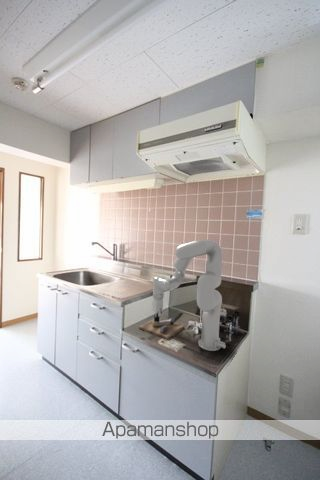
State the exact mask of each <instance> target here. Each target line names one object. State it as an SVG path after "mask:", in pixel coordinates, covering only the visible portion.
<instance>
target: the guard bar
mask: <svg viewBox="0 0 320 480" xmlns="http://www.w3.org/2000/svg"><path fill="white" fill-rule="evenodd" d="M174 323H175V318H173V317H170V318H169V319H165V320H162V321H154V322H152V326H153V327H156V326H162V325H169V324H174Z"/></svg>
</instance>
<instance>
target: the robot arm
mask: <svg viewBox="0 0 320 480" xmlns="http://www.w3.org/2000/svg"><path fill="white" fill-rule="evenodd" d="M174 253H175V256H176V258H175V260H174V261H173V264H172V265H173V267H174V268H175V271H174V273H173V274H172V276H171V277H169V278H166V277H164V276H161V275H157V276H154V278H153V283H152V284H153V285H152V288H153V289H152V300H151V301H152V302H151V310H152V312H153V313H154V317H153V319H154V321H159V319H160V318H161V315H162V314H163V312H164V311H163V310H164V308H163V307H164V298H165V292H170V291H172V290H175V289H178V287H180V286H181V284H182V282H183V280H184V279H185V275H186V271H187V269H188V267H189V265H190V263H191V262H192V260H193V259H194V258H196V257H202V256H206V255H207V259H206V262H205V271H204V273H202V274H201V275H200V276H199V278H198V279H197V284H196V285H197V286H196V304H197V307H198V310H202V311H203V315H202V326H201V334H200V335H201V338H200V339H198V341H197V342H198V346H199V347H200V348H201V349H203V350H205V351H209V352H216V351H219V350H221V348H222V349H226V346H227V345H226V342H224V341H221V338H220V337H219V334H220V321H221V320H220V319H221V309H222V304H223V297H222V294H221V293H220V292H219V291H218V290H216V289H217V288H218V287H220V285H221V284H222V271H223V270H222V269H223V250H222V247H221V246H220V245H219V243H217V242H216V241H214V240H212V239H196V240H194V241H190V242H187V243H183V244H179V245H178V246H177V247H176V249H175V252H174Z"/></svg>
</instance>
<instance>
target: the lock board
mask: <svg viewBox="0 0 320 480" xmlns="http://www.w3.org/2000/svg"><path fill="white" fill-rule="evenodd" d="M162 320H166V319H164V318H162V317H160V319H159V321H162ZM152 322H154V318H152V319H150V320H148V321H146V322H145V323H143V324H141V325H139V326H138V330H142V331H144V332H146V333H148V334H152V335H154V336H157V337H160V338H162V339H164V340H170V339H171V338H172V337H173V336H174V335H176V334H178V333H179V332H180V331H182V330H184V329H185V325H183V324H180V323H177V322H174V324H169V325H167V326H168V330H167V331H166V332H165V333H160V328H161V327H162V326H164V325H162V326H156V327H153V326H152Z"/></svg>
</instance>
